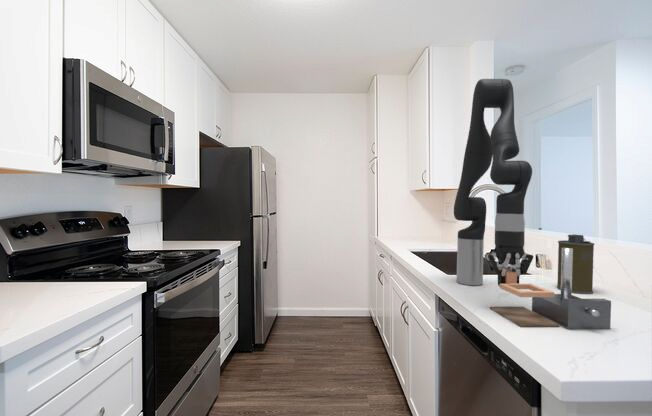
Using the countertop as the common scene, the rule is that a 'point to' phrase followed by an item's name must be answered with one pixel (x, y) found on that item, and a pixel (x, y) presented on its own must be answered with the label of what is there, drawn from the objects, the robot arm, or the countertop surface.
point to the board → (524, 317)
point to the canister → (578, 263)
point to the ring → (523, 287)
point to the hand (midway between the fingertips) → (508, 288)
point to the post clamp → (572, 303)
